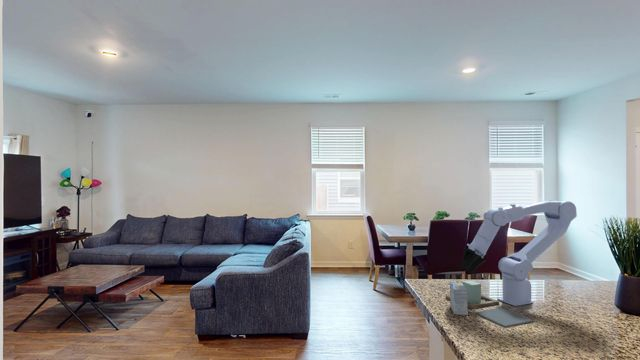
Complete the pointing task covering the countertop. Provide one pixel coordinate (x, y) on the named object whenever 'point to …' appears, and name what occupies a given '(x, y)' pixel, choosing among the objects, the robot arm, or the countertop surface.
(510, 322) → the rubber mat
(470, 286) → the sage block
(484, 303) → the holder frame
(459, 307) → the medicine box
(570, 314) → the countertop surface
